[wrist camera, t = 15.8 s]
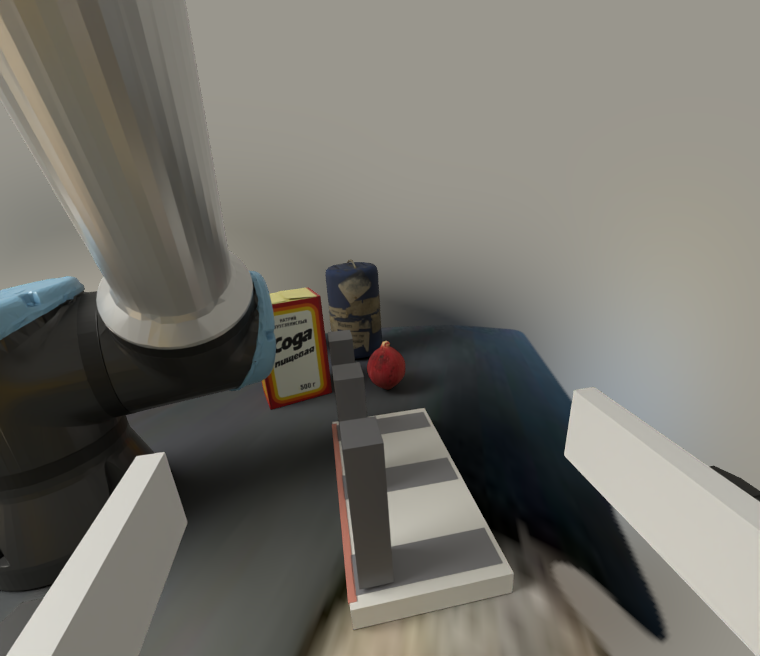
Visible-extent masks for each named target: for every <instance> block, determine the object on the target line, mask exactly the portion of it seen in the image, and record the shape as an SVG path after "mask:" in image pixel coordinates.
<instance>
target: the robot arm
mask: <svg viewBox="0 0 760 656" xmlns="http://www.w3.org/2000/svg"><path fill="white" fill-rule="evenodd" d="M0 101H1V103H2V105H3V106H4V108H5V110H6V111H7V113H8V115H9V116H10V118H11V120H12V121H13V123H14V125H15V127H16V128H17V130H18V131H19V133H20V135H21V137H22V139H23V140H24V142H25V144H26V145H27V147H28V149H29V150H30V152H31V154H32V156H33V157H34V159H35V161H36V162H37V164H38V166H39V167H40V169H41V171H42V173H43V174H44V176H45V178H46V179H47V181H48V183H49V184H50V186H51V188H52V189H53V191H54V193H55V195H56V196H57V198H58V200H59V201H60V203H61V205H62V206H63V208H64V210H65V211H66V213H67V215H68V217H69V218H70V220H71V222H72V223H73V225H74V227H75V228H76V230H77V232H78V234H79V235H80V237H81V238H82V240H83V242H84V244H85V245H86V247H87V249H88V250H89V252H90V254H91V256H92V257H93V259H94V261H95V262H96V264H97V266H98V268H99V269H100V271H101V273H102V274H103V276H104V277H103V278H102V280H101V282H100V284H99V287H98V291H96V292H84V289H85V288H84V285H83V284H81V283H80V282H79V281H78V279H77V278H75V277H69V276H67V277H63V278H57V279H55V278H54V279H47V280H42V281H37V282H33V283H28V284H24V285H20V286H16V287H11V288H7V289H3V290H0V590H3V591H21V590H29V589H34V588H39V587H43V586H46V585H50V584H53V585H52V586H51V588H50V589H49V591H48V592H47V594H46V595H45V597H44V598H41V599H36V600H31V601H26V602H22V603H21V604H20V605H19V606H18V607H17V608H16V609H14V610H13V611H12V612H11V613H10V614H9V615H8V616H7V617H6V618H5V619H4V620H3V621H2V622H1V623H0V656H138V655H139V653H140V650H141V647H142V645H143V642H144V639H145V636H146V634H147V631H148V628H149V626H150V623H151V620H152V617H153V615H154V612H155V609H156V607H157V604H158V601H159V598H160V596H161V593H162V590H163V588H164V585H165V582H166V580H167V577H168V574H169V571H170V569H171V566H172V563H173V561H174V558H175V555H176V552H177V550H178V547H179V544H180V542H181V539H182V536H183V533H184V531H185V528H186V525H187V523H188V522H187V519H186V516H185V513H184V510H183V507H182V504H181V501H180V497H179V494H178V491H177V488H176V485H175V482H174V479H173V476H172V473H171V470H170V467H169V464H168V460H167V457H166V454H165V452H161V453H154V452H153V451H152V450H151V448H150V447H149V446H148V445H147V444H146V443H145V442H144V441H143V440H142V439H141V438H140V437H139V436H138V434H137V433H136V432H135V431H134V430H133V429H132V428H131V427H130V425H129V423H128V420H127V418H126V415H128V414H132V413H136V412H140V411H144V410H148V409H152V408H156V407H160V406H165V405H169V404H173V403H177V402H181V401H185V400H190V399H194V398H198V397H202V396H206V395H210V394H215V393H219V392H223V391H227V390H230V391H236V390H240V389H241V388H243V387H244V386H247V385H250V384H253V383H257V382H260V381H262V380H264V379H266V378H267V377H268V376H269V375H270V373H271V371H272V369H273V366H274V362H275V355H276V338H275V334H274V329H275V321H274V314H273V308H272V302H271V298H270V294H269V291H268V288H267V285H266V282H265V280H264V278H263V277H262V276H261V275H260V274H259V273H258V272H255V271H249V270H248V269H247V267H246V265H245V264H244V263H243V261H242V260H241V259H240V258H239V257H237V256H236V255H235V254H234V253H232V252H231V251H229V250H228V245H227V239H226V233H225V227H224V222H223V216H222V210H221V204H220V199H219V193H218V187H217V181H216V175H215V170H214V164H213V158H212V153H211V146H210V141H209V135H208V129H207V123H206V117H205V112H204V106H203V101H202V94H201V89H200V83H199V77H198V71H197V65H196V60H195V54H194V48H193V43H192V37H191V31H190V25H189V19H188V13H187V8H186V2H185V0H0ZM564 456H565V457H566V458H567V459H568V460H569V461H570V462H571V463H572V464H573V465H574V466H575V467H576V468H577V469H578V470H579V471H580V472H581V474H582V475H583V476H584V477H585V478H586V479H587V480H588V481H589V482H590V483H591V484H592V485H593V486H594V487H595V488H596V489H597V490H598V491H599V492H600V493H601V494H602V495H603V496H604V498H605V499H606V500H607V501H608V502H609V503H610V504H611V505H612V506H613V507H614V508H615V509H616V510H617V511H618V512H619V513H620V514H621V515H622V516H623V517H624V518H625V519H626V520H627V522H628V523H629V524H630V525H631V526H632V527H633V528H634V529H635V530H636V531H637V532H638V533H639V534H640V535H641V536H642V537H643V538H644V539H645V540H646V541H647V542H648V543H649V545H650V546H652V548H653V549H654V550H655V551H656V552H657V553H658V554H659V555H660V556H661V557H662V558H663V559H664V560H665V561H666V562H667V563H668V564H669V565H670V566H671V567H672V569H673V570H675V572H676V573H677V574H678V575H679V576H680V577H681V578H682V579H683V580H684V581H685V582H686V583H687V584H688V585H689V586H690V587H691V588H692V589H693V590H694V591H695V593H696V594H697V595H698V596H699V597H700V598H701V599H702V600H703V601H704V602H705V603H706V604H707V605H708V606H709V607H710V608H711V609H712V610H713V611H714V612H715V613H716V614H717V615H718V617H719V618H720V619H722V621H723V622H724V623H725V624H726V625H727V626H728V627H729V628H730V629H731V630H732V631H733V632H734V633H735V634H736V635H737V636H738V637H739V638H740V639H741V640H742V641H743V643H744V644H745V645H746V646H747V647H748V648H749V649H750V650H751V651H752V652H753V653H754V654H755V655H756V656H760V491H759V490H757V489H756V488H754V487H753V486H752V485H750V484H749V483H747V482H745V481H744V480H743V479H741V478H739V477H737V476H735V475H733V474H731V473H728V472H726V471H724V470H722V469H720V468H718V467H715V466H710V467H709V466H707V465H706V464H704V463H703V462H701V461H700V460H699V459H697V458H696V457H694V456H693V455H691V454H690V453H688V452H687V451H686V450H684V449H683V448H681V447H680V446H678V445H677V444H676V443H674V442H672V441H671V440H670V439H668V438H667V437H665V436H664V435H662V434H661V433H660V432H658V431H657V430H655V429H654V428H652V427H651V426H650V425H648V424H647V423H645V422H644V421H642V420H641V419H639V418H638V417H637V416H635V415H634V414H632V413H631V412H629V411H628V410H626V409H625V408H624V407H622V406H621V405H619V404H618V403H616V402H615V401H613V400H612V399H611V398H609V397H608V396H606V395H605V394H603V393H602V392H601V391H599V390H598V389H596V388H595V387H591V388H584V389H577V390H574V392H573V399H572V406H571V412H570V419H569V426H568V432H567V439H566V445H565V452H564Z"/></svg>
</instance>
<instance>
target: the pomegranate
mask: <svg viewBox="0 0 760 656" xmlns="http://www.w3.org/2000/svg"><path fill="white" fill-rule="evenodd" d="M367 372H368V375H369V377H370V379H371V380H372V382H373V383H374V384H375V385H377V386H379V387H381V388H383V389H386V390H389V389H391V388H392V387H394V386H395V385H397V384H398V383H399V382H400V381H401V380H402V378H403V377H404V375H405V361H404V359H403V357H402V355H401V354H400V353H399V352H398V351H397V350H395V349H394V348H392V347H390V343H389V342H388V341H384V342H383V343H382V345H381V346H380V348H378V349H377V350H375V351H374V352H373V353H372V355H371V356H370V358H369V361H368V365H367Z"/></svg>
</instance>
